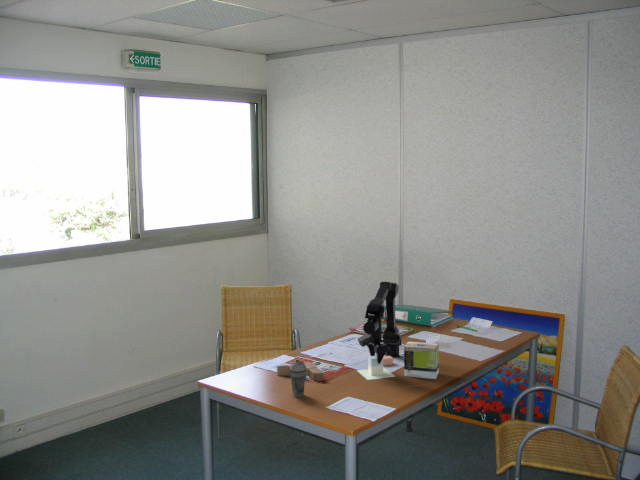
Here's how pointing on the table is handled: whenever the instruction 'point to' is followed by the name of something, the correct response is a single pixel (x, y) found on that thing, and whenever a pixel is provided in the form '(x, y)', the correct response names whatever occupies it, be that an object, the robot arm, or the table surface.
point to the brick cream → (375, 370)
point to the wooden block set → (310, 371)
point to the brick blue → (374, 361)
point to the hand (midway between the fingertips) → (375, 361)
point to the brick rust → (387, 360)
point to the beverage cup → (298, 377)
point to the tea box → (421, 360)
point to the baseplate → (370, 377)
